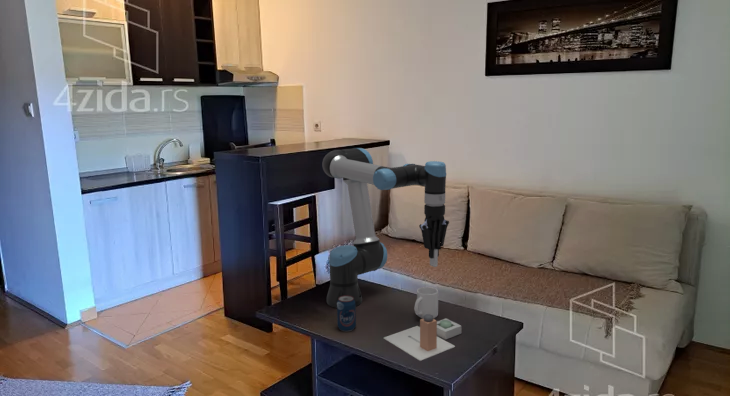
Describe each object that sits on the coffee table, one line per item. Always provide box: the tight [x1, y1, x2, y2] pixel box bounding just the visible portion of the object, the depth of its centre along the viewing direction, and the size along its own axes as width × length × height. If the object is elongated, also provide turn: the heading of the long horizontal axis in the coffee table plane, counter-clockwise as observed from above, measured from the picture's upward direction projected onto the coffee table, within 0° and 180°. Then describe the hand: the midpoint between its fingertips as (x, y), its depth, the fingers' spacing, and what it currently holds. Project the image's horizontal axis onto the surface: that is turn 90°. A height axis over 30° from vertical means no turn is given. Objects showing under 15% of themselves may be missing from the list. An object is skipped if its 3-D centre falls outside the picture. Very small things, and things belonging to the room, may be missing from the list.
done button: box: [439, 319, 452, 329], centre depth 185 cm, size 4×4×3 cm
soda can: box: [336, 295, 357, 332], centre depth 189 cm, size 7×7×12 cm
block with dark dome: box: [419, 314, 438, 351], centre depth 173 cm, size 4×4×11 cm
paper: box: [383, 325, 456, 362], centre depth 178 cm, size 20×16×1 cm
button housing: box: [436, 318, 462, 341], centre depth 185 cm, size 8×8×3 cm
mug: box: [413, 286, 439, 320], centre depth 198 cm, size 12×8×10 cm
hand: (433, 265), depth 189 cm, fingers closed
